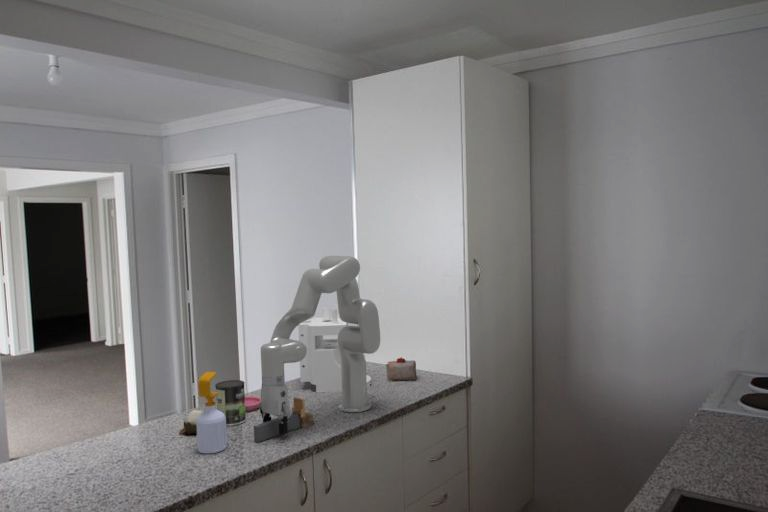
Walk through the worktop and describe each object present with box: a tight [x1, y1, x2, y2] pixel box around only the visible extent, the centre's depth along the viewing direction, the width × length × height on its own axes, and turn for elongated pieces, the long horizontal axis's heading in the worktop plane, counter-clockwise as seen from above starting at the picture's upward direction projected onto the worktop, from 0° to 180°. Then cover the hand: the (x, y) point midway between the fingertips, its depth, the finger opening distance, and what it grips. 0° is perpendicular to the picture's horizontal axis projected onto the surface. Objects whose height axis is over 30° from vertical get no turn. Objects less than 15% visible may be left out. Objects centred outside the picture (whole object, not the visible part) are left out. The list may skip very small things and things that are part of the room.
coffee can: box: [214, 379, 247, 427], centre depth 220 cm, size 10×10×14 cm
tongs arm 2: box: [255, 413, 301, 443], centre depth 204 cm, size 18×1×5 cm, turn 139°
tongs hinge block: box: [299, 411, 315, 429], centre depth 214 cm, size 5×4×4 cm
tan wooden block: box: [291, 396, 306, 418], centre depth 212 cm, size 2×5×6 cm, turn 49°
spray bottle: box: [196, 371, 228, 455], centre depth 193 cm, size 9×9×25 cm
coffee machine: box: [297, 303, 372, 394], centre depth 266 cm, size 24×30×35 cm
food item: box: [385, 356, 417, 381], centre depth 272 cm, size 14×8×10 cm, turn 87°
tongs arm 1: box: [253, 412, 297, 442], centre depth 205 cm, size 18×1×5 cm, turn 140°
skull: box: [178, 409, 204, 437], centre depth 211 cm, size 12×10×10 cm
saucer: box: [245, 396, 261, 413], centre depth 236 cm, size 12×12×3 cm
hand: (275, 431), depth 204 cm, fingers open, 7 cm apart
